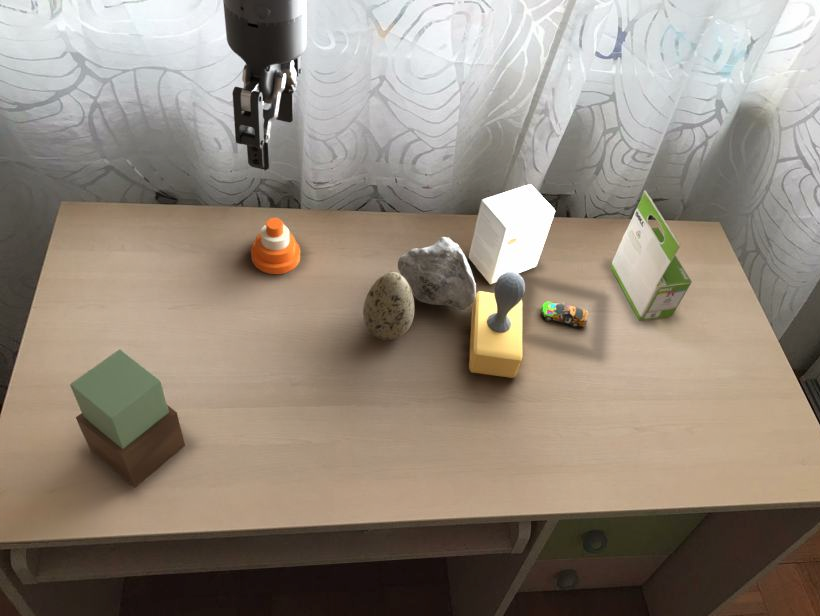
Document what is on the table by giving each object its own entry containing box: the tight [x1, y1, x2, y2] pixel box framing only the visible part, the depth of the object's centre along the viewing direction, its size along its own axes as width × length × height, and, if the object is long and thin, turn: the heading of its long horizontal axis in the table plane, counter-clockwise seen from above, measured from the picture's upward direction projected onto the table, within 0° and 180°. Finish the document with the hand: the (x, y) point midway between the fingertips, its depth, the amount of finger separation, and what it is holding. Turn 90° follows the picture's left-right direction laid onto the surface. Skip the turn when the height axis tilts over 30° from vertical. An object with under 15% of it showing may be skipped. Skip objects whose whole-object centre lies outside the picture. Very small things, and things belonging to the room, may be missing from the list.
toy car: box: [540, 301, 588, 329], centre depth 96 cm, size 3×6×2 cm, turn 80°
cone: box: [250, 217, 301, 275], centre depth 93 cm, size 6×6×6 cm
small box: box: [468, 183, 556, 285], centre depth 97 cm, size 8×6×10 cm
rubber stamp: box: [468, 272, 526, 379], centre depth 88 cm, size 10×6×12 cm, turn 177°
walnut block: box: [75, 404, 186, 489], centre depth 74 cm, size 6×6×6 cm
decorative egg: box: [362, 271, 415, 341], centre depth 87 cm, size 6×6×10 cm
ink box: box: [609, 189, 693, 321], centre depth 96 cm, size 10×5×14 cm, turn 16°
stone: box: [397, 236, 477, 311], centre depth 91 cm, size 9×7×10 cm
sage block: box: [69, 349, 169, 449], centre depth 69 cm, size 5×5×5 cm
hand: (272, 142), depth 81 cm, fingers open, 8 cm apart
